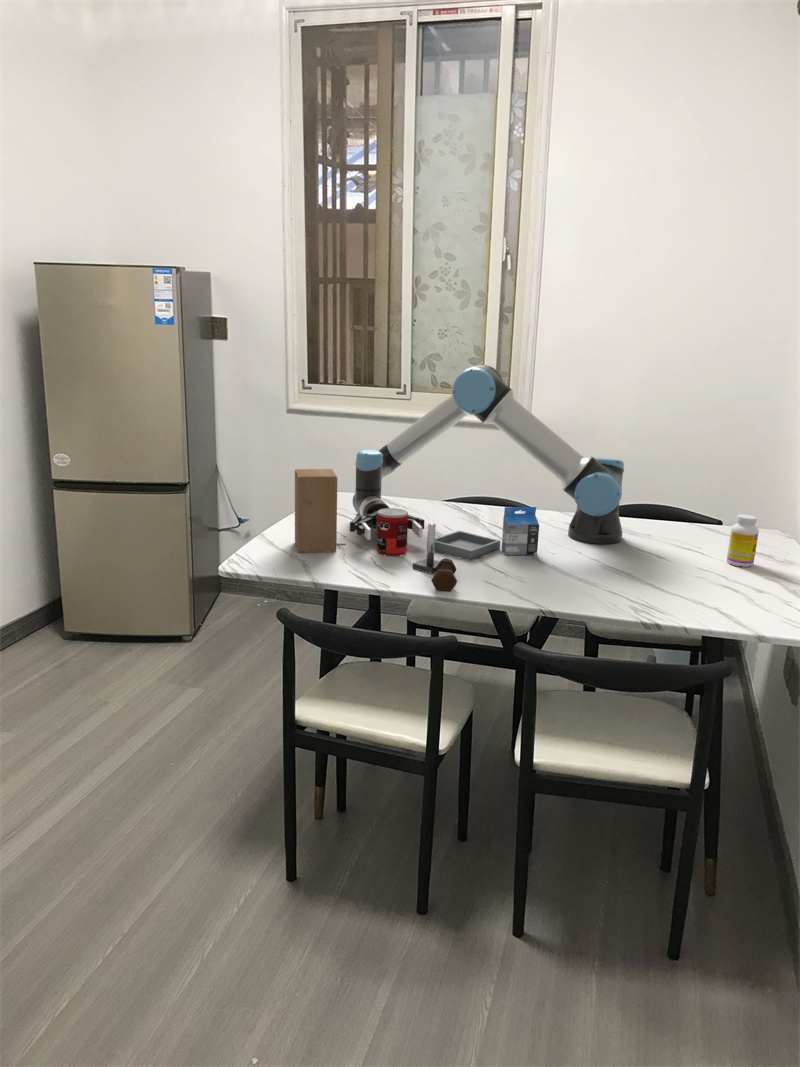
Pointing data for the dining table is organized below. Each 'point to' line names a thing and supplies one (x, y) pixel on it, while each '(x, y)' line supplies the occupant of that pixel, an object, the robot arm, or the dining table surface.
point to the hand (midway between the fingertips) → (395, 533)
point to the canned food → (392, 531)
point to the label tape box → (520, 531)
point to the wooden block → (315, 510)
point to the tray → (466, 545)
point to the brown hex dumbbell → (444, 576)
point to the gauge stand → (429, 552)
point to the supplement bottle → (743, 541)
